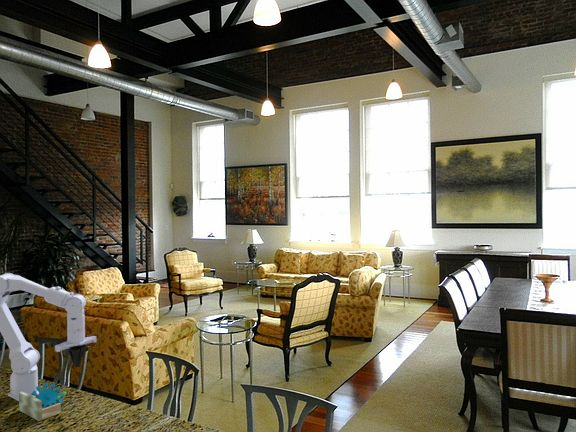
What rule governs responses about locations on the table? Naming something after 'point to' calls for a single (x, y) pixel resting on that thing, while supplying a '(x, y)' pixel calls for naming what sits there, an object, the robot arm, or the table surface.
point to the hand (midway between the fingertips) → (76, 366)
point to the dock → (36, 407)
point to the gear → (49, 395)
